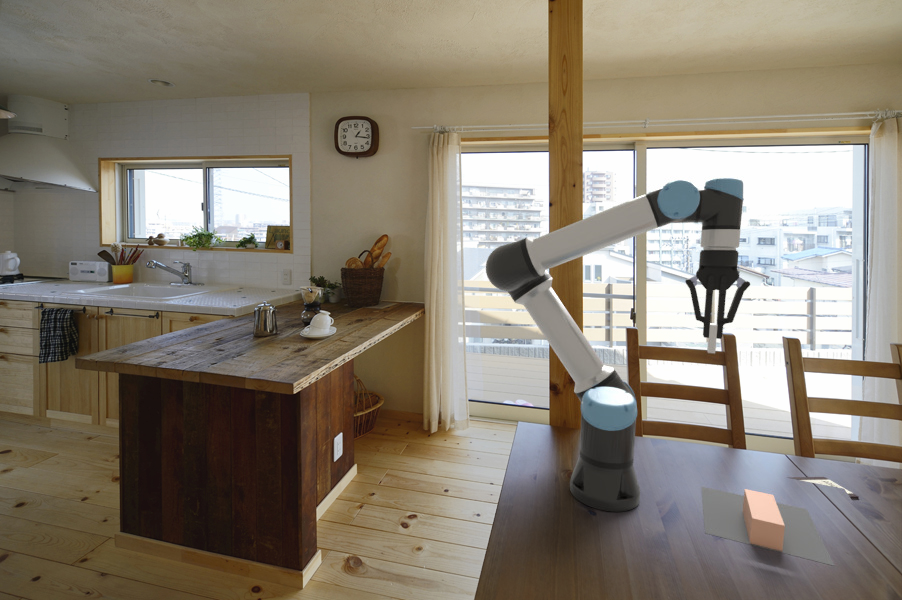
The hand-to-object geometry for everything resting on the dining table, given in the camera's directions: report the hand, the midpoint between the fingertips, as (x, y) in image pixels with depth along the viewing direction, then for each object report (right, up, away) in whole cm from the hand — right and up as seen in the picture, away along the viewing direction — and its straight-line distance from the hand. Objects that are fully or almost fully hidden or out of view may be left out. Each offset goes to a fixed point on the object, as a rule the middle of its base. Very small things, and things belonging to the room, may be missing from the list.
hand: (711, 351), depth 106 cm
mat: (+3, -34, -12) cm, 36 cm away
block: (+4, -31, -10) cm, 32 cm away
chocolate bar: (+23, -33, +3) cm, 41 cm away
